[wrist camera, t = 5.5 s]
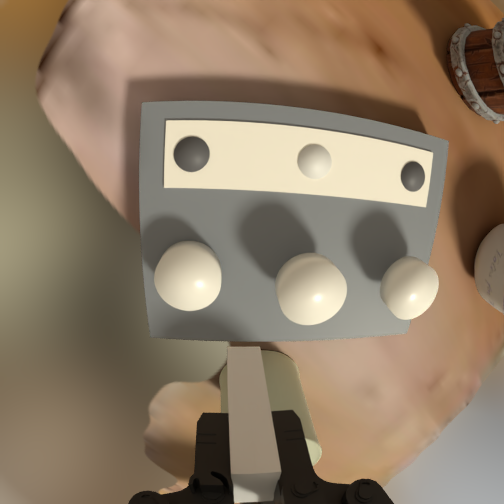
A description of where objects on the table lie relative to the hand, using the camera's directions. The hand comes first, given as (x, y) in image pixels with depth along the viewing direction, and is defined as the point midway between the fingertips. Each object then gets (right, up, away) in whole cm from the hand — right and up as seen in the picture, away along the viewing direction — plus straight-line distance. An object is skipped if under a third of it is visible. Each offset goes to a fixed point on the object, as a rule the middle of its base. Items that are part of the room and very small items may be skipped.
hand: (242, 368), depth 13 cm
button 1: (+14, +3, +10) cm, 17 cm away
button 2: (-4, +4, +10) cm, 12 cm away
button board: (+4, +8, +13) cm, 16 cm away
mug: (+28, +26, +8) cm, 39 cm away
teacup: (+32, +4, +17) cm, 36 cm away
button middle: (+5, +3, +9) cm, 11 cm away
